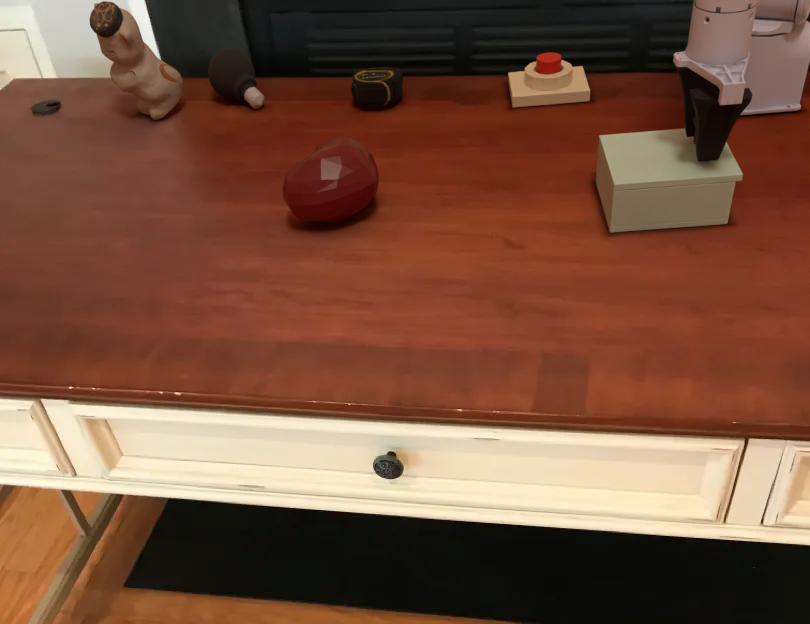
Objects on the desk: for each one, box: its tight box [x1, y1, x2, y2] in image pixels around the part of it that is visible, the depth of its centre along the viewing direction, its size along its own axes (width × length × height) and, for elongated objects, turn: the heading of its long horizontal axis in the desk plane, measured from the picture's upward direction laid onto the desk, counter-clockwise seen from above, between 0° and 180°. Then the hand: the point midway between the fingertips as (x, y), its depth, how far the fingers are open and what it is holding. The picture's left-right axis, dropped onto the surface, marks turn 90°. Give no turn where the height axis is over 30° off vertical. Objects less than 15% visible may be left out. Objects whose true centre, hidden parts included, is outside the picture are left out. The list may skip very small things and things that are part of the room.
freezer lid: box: [598, 116, 744, 191], centre depth 93 cm, size 13×11×4 cm
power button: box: [535, 52, 562, 75], centre depth 117 cm, size 3×3×2 cm
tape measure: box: [350, 66, 404, 108], centre depth 120 cm, size 7×7×4 cm
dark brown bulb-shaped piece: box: [207, 47, 265, 110], centre depth 124 cm, size 6×6×10 cm
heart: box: [282, 136, 380, 224], centre depth 100 cm, size 12×8×10 cm
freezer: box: [595, 143, 737, 233], centre depth 96 cm, size 12×11×5 cm
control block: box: [507, 59, 591, 109], centre depth 118 cm, size 10×8×3 cm
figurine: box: [89, 0, 184, 121], centre depth 120 cm, size 9×10×15 cm
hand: (701, 146), depth 94 cm, fingers closed on freezer lid, 5 cm apart
